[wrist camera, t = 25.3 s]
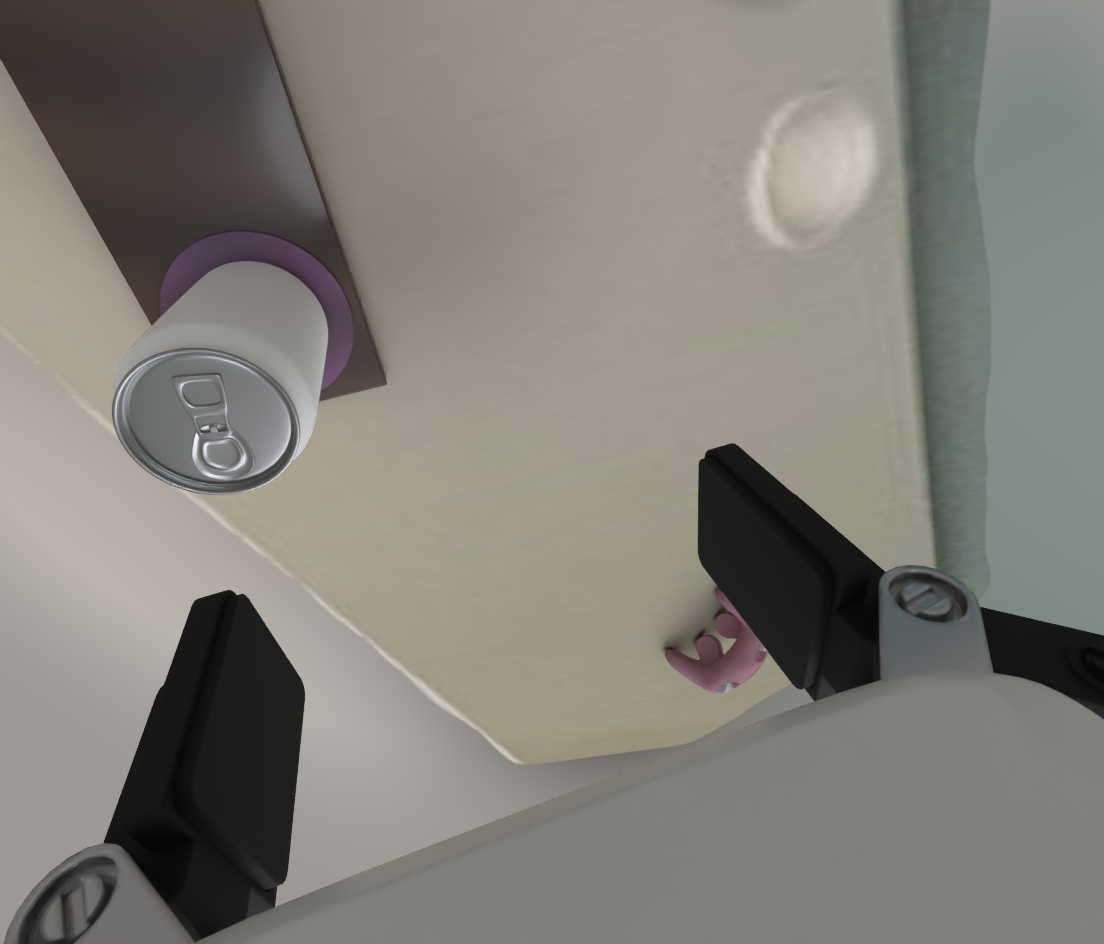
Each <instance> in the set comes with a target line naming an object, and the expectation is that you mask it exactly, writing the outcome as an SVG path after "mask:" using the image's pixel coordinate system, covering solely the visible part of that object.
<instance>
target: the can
mask: <svg viewBox="0 0 1104 944" xmlns="http://www.w3.org/2000/svg"><path fill="white" fill-rule="evenodd" d="M327 344H328V326H327V320H326V317H325V314H324V311H323V309H322V306H321V305H320V303H319V301H318V299H317V298H316V296H315V295H314V294H313V293H312V291H311V290H310V289H309V288H308V287H307V286H306V285H305V284H304V283H303V282H302V281H300V280H299V279H298V278H296V277H295V276H294V275H292V274H290V273H289V272H287V271H285V270H283V269H281V268H278V267H276V266H273V265H270V264H266V263H262V262H255V261H238V262H232V263H228V264H224V265H222V266H219V267H217V268H215V269H213V270H211V271H210V272H208V273H207V274H206V275H204V276H203V277H202V278H201V279H200V280H199V281H198V282H196V283H195V284H194V285H193V286H192V287H191V288H190V289H189V290H188V291H187V292H186V293H185V294H184V295H183V296H182V297H181V298H180V299H179V300H178V301H177V302H176V303H175V304H173V305H172V306H171V307H170V308H169V309H168V310H167V311H166V312H165V313H164V314H163V315H162V316H161V317H160V318H159V319H158V320H157V321H156V322H155V323H154V324H153V325H152V326H151V327H150V328H149V329H148V330H147V331H146V332H145V333H144V334H143V335H142V336H141V337H140V338H139V339H138V340H137V341H136V343H135V344H134V345H133V346H132V347H131V348H130V350H129V351H128V352H127V354H126V355H125V357H124V359H123V360H122V362H121V364H120V366H119V369H118V372H117V375H116V380H115V395H114V398H113V404H112V418H113V424H114V427H115V431H116V433H117V436H118V438H119V440H120V442H121V444H122V445H123V447H124V448H125V450H126V451H127V452H128V454H129V455H130V456H131V457H132V458H133V459H134V460H135V462H137V463H138V464H139V465H140V466H141V467H142V468H143V469H145V470H146V471H147V472H149V473H150V474H151V475H153V476H155V477H156V478H158V479H160V480H162V481H164V482H166V483H168V484H170V485H172V486H175V487H177V488H180V489H183V490H187V491H191V492H195V493H201V494H209V495H231V494H238V493H243V492H248V491H251V490H254V489H257V488H259V487H262V486H264V485H266V484H268V483H269V482H271V481H273V480H274V479H275V478H277V477H278V476H279V475H280V474H282V473H283V472H284V471H285V470H286V468H287V467H288V466H289V465H290V463H291V462H292V461H293V460H294V459H295V458H296V457H297V456H298V455H299V454H300V453H301V452H302V450H303V449H304V448H305V446H306V444H307V443H308V440H309V438H310V436H311V434H312V431H313V428H314V424H315V419H316V414H317V409H318V403H319V397H320V390H321V384H322V378H323V371H324V365H325V358H326V351H327Z"/></svg>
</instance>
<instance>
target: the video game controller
mask: <svg viewBox="0 0 1104 944" xmlns="http://www.w3.org/2000/svg"><path fill="white" fill-rule="evenodd" d="M716 594H717V597H718V599H719V601H720V602H721V604H722V605H723V606H724V607H725V608H726V609H727V610H728V611H730V612H726V613H724V614H721V615H720V616H718V618H717V619H716V623H715V626H716V629H717V631H718V632H719V633H720V634H721V635H722V636H724V637H726V638H735V639H737V640H736V641H735V643H734V644H733V645H732V647H731V648H730V649H729V650H728V651H727V652H726V653H725V654H723V651H722V646H721V643H720V642H719V640H718V639H717V638H716V637H714V636H712V635H704V636H702V637H700V638H699V639H698V641H697V642H696V649H697V652H698V654H699V657H700V660H696V659H692V658H690V657H688V656H686V655H684V654H682V653H680V652H678V651H675V650H667V651H666V652H665V657H666V659H667V661H668V662H669V664H670V665H671V666H672V667H673V668H674V669H675V670H677V671H678V672H679V673H681V674H682V675H683V676H685V677H686V678H688V679H689V680H691V681H692V682H694V683H695V684H697V685H698V686H699V687H701V688H703V689H704V690H707V691H709V692H714V693H723V692H728V691H730V690H732V689H733V688H736V687H737V686H739V685H741V684H742V683H744V682H745V681H747V680H748V679H749V678H750V677H751V676H753V675H754V674H755V673H756V671H757V670H758V669H759V668H760V667H761V665H762V664H763V662H764V661H765V659H766V657H767V655H768V653H769V652H768V651H767V650H766V649H765V647H764V646H763V645H762V643H761V642H760V641H759V639H758V638H757V637H756V635H755V634H754V633H753V632H752V630H751V629H750V628H749V626H748V625H747V624H746V622H745V621H744V620H743V618H742V617H741V616H740V615H739V613H738V612H737V611H736V609H735V608H734V607H733V605H732V604H731V603H730V601H729V600H728V599H727V598H726V596H725V595H724V594H723V592H722V591H721V590H720V589H719V590H717V593H716Z"/></svg>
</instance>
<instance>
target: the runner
mask: <svg viewBox="0 0 1104 944" xmlns="http://www.w3.org/2000/svg"><path fill="white" fill-rule="evenodd" d="M0 59H1V61H2V62H3V64H4V66H5V68H6V69H7V71H8V73H9V75H10V77H11V78H12V80H13V82H14V84H15V85H16V87H17V89H18V91H19V92H20V94H21V96H22V98H23V99H24V101H25V103H26V105H27V106H28V108H29V110H30V112H31V114H32V115H33V117H34V119H35V121H36V122H37V124H38V126H39V128H40V129H41V131H42V133H43V135H44V136H45V138H46V140H47V142H48V143H49V145H50V147H51V149H52V151H53V152H54V154H55V156H56V158H57V159H58V161H59V163H60V165H61V166H62V168H63V170H64V172H65V173H66V175H67V177H68V179H69V180H70V182H71V184H72V186H73V187H74V189H75V191H76V193H77V195H78V196H79V198H80V200H81V202H82V203H83V205H84V207H85V209H86V210H87V212H88V214H89V216H90V217H91V219H92V221H93V223H94V224H95V226H96V228H97V230H98V232H99V233H100V235H101V237H102V239H103V240H104V242H105V244H106V246H107V247H108V249H109V251H110V253H111V254H112V256H113V258H114V260H115V261H116V263H117V265H118V267H119V269H120V270H121V272H122V274H123V276H124V277H125V279H126V281H127V283H128V284H129V286H130V288H131V290H132V291H133V293H134V295H135V297H136V298H137V300H138V302H139V304H140V306H141V307H142V309H143V311H144V313H145V314H146V316H147V318H148V320H149V321H150V323H151V325H153V324H154V323H155V322H156V321H157V320H158V319H159V318H160V317H161V316H162V315H163V314H164V313H165V312H166V311H167V310H168V309H169V308H170V307H171V306H172V305H173V304H175V303H176V302H177V301H178V300H179V299H180V298H181V297H182V296H183V295H184V294H185V293H186V292H187V291H188V290H189V289H190V288H191V287H192V286H193V285H194V284H195V283H196V282H198V281H199V280H200V279H201V278H202V277H203V276H204V275H206V274H207V273H208V272H210V271H211V270H213V269H215V268H217V267H219V266H222V265H224V264H228V263H232V262H238V261H255V262H262V263H266V264H270V265H273V266H276V267H278V268H281V269H283V270H285V271H287V272H289V273H290V274H292V275H294V276H295V277H296V278H298V279H299V280H300V281H302V282H303V283H304V284H305V285H306V286H307V287H308V288H309V289H310V290H311V291H312V293H313V294H314V295H315V296H316V298H317V299H318V301H319V303H320V305H321V306H322V309H323V311H324V314H325V317H326V320H327V326H328V344H327V351H326V358H325V365H324V371H323V378H322V384H321V390H320V397H319V401H323V400H327V399H331V398H335V397H339V396H343V395H347V394H351V393H355V392H359V391H363V390H367V389H372V388H376V387H380V386H384V385H386V384H387V381H386V376H385V373H384V370H383V367H382V364H381V361H380V358H379V355H378V352H377V349H376V346H375V343H374V340H373V337H372V334H371V332H370V329H369V326H368V323H367V320H366V317H365V314H364V311H363V308H362V305H361V302H360V299H359V296H358V293H357V290H356V287H355V284H354V281H353V279H352V276H351V273H350V270H349V267H348V264H347V261H346V258H345V255H344V252H343V249H342V246H341V243H340V240H339V237H338V234H337V231H336V228H335V225H334V223H333V220H332V217H331V214H330V211H329V208H328V205H327V202H326V199H325V196H324V193H323V190H322V187H321V184H320V181H319V178H318V175H317V172H316V169H315V167H314V164H313V161H312V158H311V155H310V152H309V149H308V146H307V143H306V140H305V137H304V134H303V131H302V128H301V125H300V122H299V119H298V116H297V114H296V111H295V108H294V105H293V102H292V99H291V96H290V93H289V90H288V87H287V84H286V81H285V78H284V75H283V72H282V69H281V66H280V63H279V60H278V58H277V55H276V52H275V49H274V46H273V43H272V40H271V37H270V34H269V31H268V28H267V25H266V22H265V19H264V16H263V13H262V10H261V7H260V4H259V2H258V0H0Z"/></svg>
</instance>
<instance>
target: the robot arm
mask: <svg viewBox="0 0 1104 944" xmlns="http://www.w3.org/2000/svg"><path fill="white" fill-rule="evenodd" d="M698 555H699V559H700V562H701V564H702V566H703V567H704V569H705V570H706V571H707V573H708V574H709V575H710V577H711V578H712V579H713V580H714V582H715V583H716V584H717V586H718V587H719V588H720V590H721V591H722V592H723V594H724V595H725V596H726V598H727V599H728V600H729V601H730V603H731V604H732V605H733V607H734V608H735V609H736V611H737V612H738V613H739V615H740V616H741V617H742V618H743V620H744V621H745V622H746V624H747V625H748V626H749V628H750V629H751V630H752V632H753V633H754V634H755V635H756V637H757V638H758V639H759V641H760V642H761V643H762V645H763V646H764V647H765V649H766V650H767V651H768V652H769V654H770V655H771V656H772V658H773V659H774V660H775V662H776V663H777V664H778V666H779V667H780V668H781V670H782V671H783V672H784V673H785V675H786V676H787V677H788V679H789V680H790V681H791V683H792V684H793V685H794V686H795V687H796V688H798V689H804V688H805V689H806V691H807V692H808V693H809V695H810V696H811V697H812V698H813V700H814V701H815V702H812V703H809V704H806V705H804V706H800V707H798V708H795V709H792V710H789V711H786V712H784V713H781V714H778V715H775V716H772V717H769V718H767V719H764V720H761V721H759V722H756V723H754V724H751V725H748V726H745V727H743V728H740V729H737V730H735V731H732V732H729V733H727V734H724V735H721V736H719V737H716V738H713V739H711V740H708V741H705V742H703V743H700V744H697V745H694V746H692V747H689V748H686V749H684V750H681V751H679V752H676V753H673V754H670V755H668V756H665V757H662V758H660V759H657V760H654V761H652V762H649V763H647V764H644V765H641V766H638V767H636V768H633V769H631V770H628V771H625V772H623V773H620V774H618V775H615V776H612V777H609V778H607V779H604V780H602V781H599V782H596V783H594V784H591V785H588V786H586V787H583V788H580V789H578V790H575V791H573V792H570V793H567V794H565V795H562V796H559V797H557V798H554V799H551V800H549V801H546V802H544V803H541V804H538V805H536V806H533V807H530V808H528V809H525V810H523V811H520V812H517V813H515V814H512V815H509V816H507V817H504V818H502V819H499V820H496V821H494V822H491V823H488V824H486V825H483V826H481V827H478V828H476V829H473V830H470V831H468V832H465V833H462V834H460V835H457V836H455V837H452V838H450V839H447V840H444V841H442V842H439V843H437V844H434V845H431V846H429V847H426V848H424V849H421V850H418V851H416V852H413V853H411V854H408V855H405V856H403V857H400V858H398V859H395V860H392V861H390V862H387V863H385V864H382V865H380V866H377V867H374V868H372V869H369V870H367V871H364V872H361V873H359V874H356V875H354V876H351V877H348V878H346V879H343V880H341V881H339V882H336V883H334V884H331V885H329V886H326V887H324V888H321V889H319V890H316V891H314V892H311V893H309V894H307V895H304V896H301V897H299V898H296V899H294V900H292V901H289V902H287V903H284V904H282V905H279V906H277V907H275V901H276V892H277V886H278V885H280V884H283V883H284V881H285V880H286V876H287V872H288V864H289V863H288V862H289V854H290V844H291V834H292V823H293V813H294V803H295V793H296V783H297V773H298V763H299V752H300V743H301V733H302V723H303V712H304V703H305V690H304V685H303V682H302V680H301V678H300V677H299V675H298V674H297V672H296V671H295V669H294V667H293V666H292V664H291V663H290V661H289V660H288V658H287V657H286V655H285V654H284V652H283V651H282V649H281V647H280V646H279V645H278V643H277V642H276V640H275V638H274V637H273V635H272V634H271V632H270V631H269V629H268V628H267V626H266V625H265V623H264V622H263V620H262V618H261V617H260V615H259V614H258V612H257V611H256V609H255V608H254V606H253V605H252V603H251V602H250V600H249V599H248V598H247V596H246V595H244V594H241V595H236V594H235V593H234V592H233V591H231V590H227V591H223V592H219V593H216V594H213V595H209V596H206V597H202V598H199V599H197V600H195V601H194V603H193V605H192V607H191V610H190V613H189V615H188V618H187V621H186V624H185V627H184V629H183V633H182V635H181V638H180V641H179V644H178V647H177V649H176V652H175V655H174V658H173V661H172V664H171V666H170V669H169V672H168V675H167V678H166V681H165V683H164V685H163V686H162V687H161V688H160V690H159V692H158V694H157V695H156V698H155V701H154V704H153V706H152V709H151V712H150V715H149V717H148V720H147V723H146V726H145V728H144V732H143V734H142V737H141V740H140V742H139V745H138V748H137V751H136V754H135V756H134V759H133V762H132V765H131V768H130V770H129V773H128V776H127V779H126V782H125V784H124V787H123V790H122V793H121V795H120V798H119V801H118V804H117V807H116V810H115V812H114V815H113V818H112V821H111V823H110V826H109V829H108V832H107V835H106V837H105V840H104V843H103V844H99V845H95V846H92V847H88V848H86V849H84V850H82V851H80V852H78V853H76V854H74V855H73V856H71V857H69V858H67V859H66V860H65V861H64V862H62V863H61V864H60V865H58V866H57V867H56V868H54V869H53V870H52V871H50V872H49V874H47V875H46V876H45V877H44V879H43V880H41V882H39V883H38V885H37V886H36V887H35V888H34V889H33V890H32V891H31V892H30V894H29V895H28V896H27V898H26V899H25V900H24V902H23V903H22V905H21V906H20V907H19V909H18V910H17V912H16V914H15V916H14V918H13V920H12V922H11V924H10V926H9V928H8V930H7V933H6V937H5V941H4V944H1104V636H1103V635H1099V634H1095V633H1090V632H1086V631H1082V630H1077V629H1073V628H1069V627H1064V626H1060V625H1056V624H1052V623H1047V622H1043V621H1038V620H1034V619H1030V618H1026V617H1021V616H1017V615H1013V614H1008V613H1004V612H1000V611H996V610H991V609H987V608H983V607H980V606H979V603H978V601H977V598H976V596H975V594H974V593H973V592H972V591H971V590H970V589H969V588H968V587H967V586H966V585H965V584H964V583H962V582H961V581H959V580H958V579H956V578H955V577H954V576H951V575H949V574H947V573H945V572H942V571H940V570H937V569H933V568H929V567H925V566H914V565H907V566H900V567H895V568H893V569H891V570H889V571H887V572H885V571H884V570H883V569H881V568H880V567H879V566H878V565H877V564H876V563H874V562H873V561H872V560H871V559H870V558H869V557H867V556H866V555H865V554H864V553H863V552H862V551H861V550H859V549H858V548H857V547H856V546H855V545H854V544H852V543H851V542H850V541H849V540H848V539H847V538H845V537H844V536H843V535H842V534H841V533H840V532H838V531H837V530H836V529H835V528H834V527H833V526H832V525H830V524H829V523H828V522H827V521H826V520H825V519H823V518H822V517H821V516H820V515H819V514H818V513H816V512H815V511H814V510H813V509H812V508H811V507H809V506H808V505H807V504H806V503H805V502H804V501H803V500H801V499H800V498H799V497H798V496H797V495H795V494H794V493H792V492H791V491H790V490H788V489H787V488H786V487H785V486H784V485H783V484H782V483H780V482H779V481H778V480H777V479H776V478H775V477H773V476H772V475H771V474H770V473H769V472H768V471H766V470H765V469H764V468H763V467H762V466H761V465H760V464H758V463H757V462H756V461H755V460H754V459H753V458H751V457H750V456H749V455H748V454H747V453H746V452H745V451H743V450H742V449H741V448H740V447H739V446H737V445H736V444H733V443H731V444H728V445H724V446H721V447H717V448H714V449H710V450H708V451H707V452H706V454H705V458H704V459H701V460H700V462H699V487H698Z"/></svg>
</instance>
